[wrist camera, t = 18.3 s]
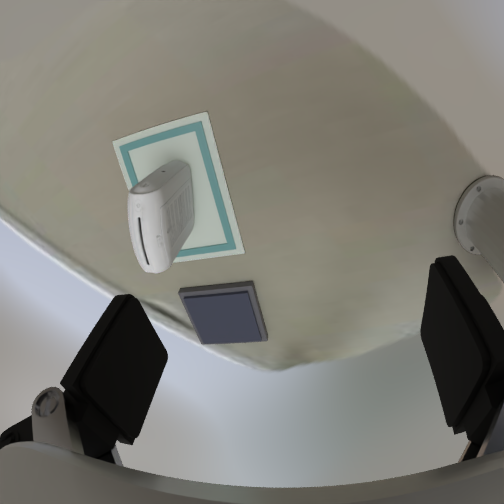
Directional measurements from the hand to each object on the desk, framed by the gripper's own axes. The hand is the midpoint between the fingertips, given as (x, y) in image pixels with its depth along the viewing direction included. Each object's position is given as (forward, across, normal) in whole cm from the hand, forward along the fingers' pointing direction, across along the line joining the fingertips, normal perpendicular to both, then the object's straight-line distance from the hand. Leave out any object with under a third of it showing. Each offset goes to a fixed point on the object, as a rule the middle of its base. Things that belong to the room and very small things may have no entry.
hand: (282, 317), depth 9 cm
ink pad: (+30, +15, +26) cm, 42 cm away
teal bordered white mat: (+30, +16, +5) cm, 34 cm away
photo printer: (+30, +16, +5) cm, 34 cm away
